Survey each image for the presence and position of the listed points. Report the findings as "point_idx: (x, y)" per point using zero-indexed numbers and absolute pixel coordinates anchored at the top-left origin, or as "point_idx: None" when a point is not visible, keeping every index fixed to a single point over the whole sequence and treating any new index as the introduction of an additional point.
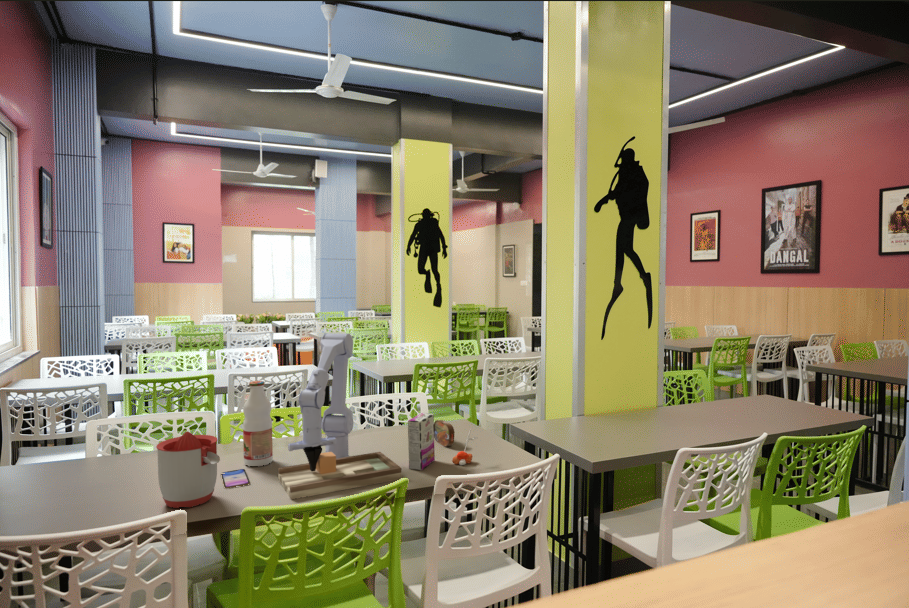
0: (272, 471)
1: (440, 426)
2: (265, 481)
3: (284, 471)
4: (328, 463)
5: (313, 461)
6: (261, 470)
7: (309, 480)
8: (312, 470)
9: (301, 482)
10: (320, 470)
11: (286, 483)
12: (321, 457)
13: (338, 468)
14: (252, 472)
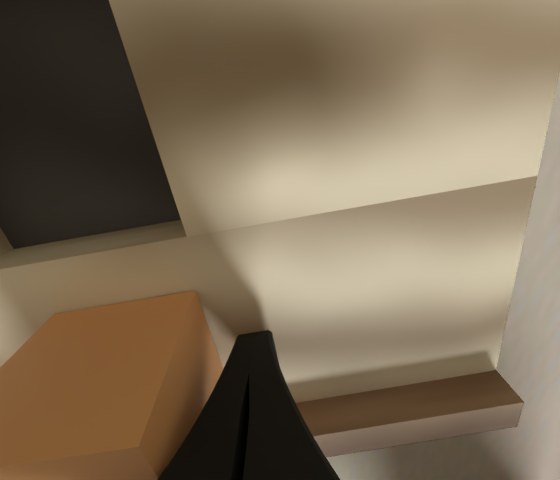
0: (454, 450)
1: None
2: (539, 341)
3: (464, 387)
4: (70, 375)
5: (250, 410)
6: (495, 467)
7: (305, 155)
8: (263, 334)
9: (392, 121)
10: (185, 311)
11: (532, 144)
12: (122, 466)
13: None
14: (540, 455)
